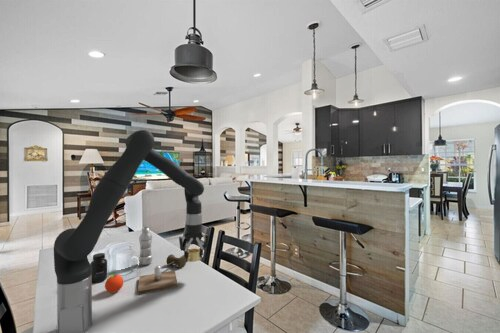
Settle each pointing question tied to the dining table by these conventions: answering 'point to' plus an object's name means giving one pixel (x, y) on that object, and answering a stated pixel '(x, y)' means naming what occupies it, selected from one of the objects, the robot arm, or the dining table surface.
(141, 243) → the plastic bottle
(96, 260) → the supplement bottle
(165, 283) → the walnut base plate
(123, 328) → the dining table surface
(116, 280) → the clementine
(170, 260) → the kendama
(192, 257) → the brass ring
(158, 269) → the steel post
